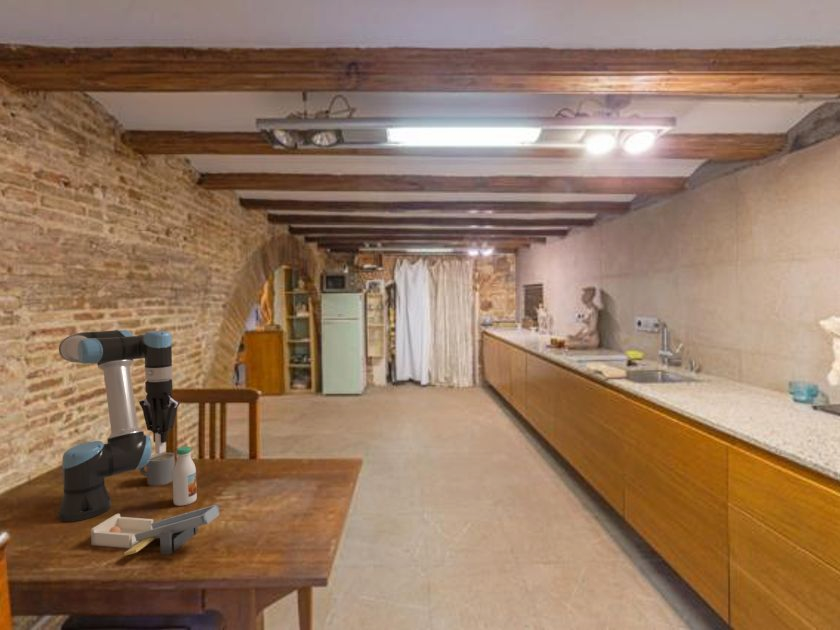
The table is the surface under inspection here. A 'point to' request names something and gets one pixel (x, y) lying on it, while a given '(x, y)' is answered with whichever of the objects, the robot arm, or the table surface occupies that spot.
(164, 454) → the coffee mug
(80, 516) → the robot arm
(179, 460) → the milk bottle
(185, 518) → the lever
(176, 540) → the fulcrum
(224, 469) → the table surface
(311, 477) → the table surface
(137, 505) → the table surface
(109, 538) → the tray
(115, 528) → the ball
